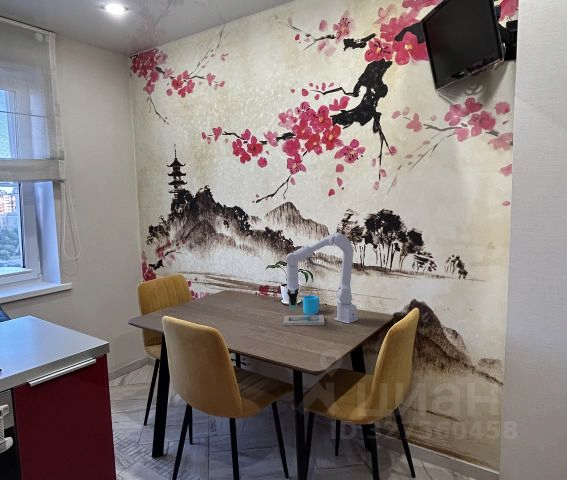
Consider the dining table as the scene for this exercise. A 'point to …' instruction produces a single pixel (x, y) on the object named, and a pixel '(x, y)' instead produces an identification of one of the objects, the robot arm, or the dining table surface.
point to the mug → (310, 304)
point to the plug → (292, 306)
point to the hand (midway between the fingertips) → (293, 304)
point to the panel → (304, 320)
